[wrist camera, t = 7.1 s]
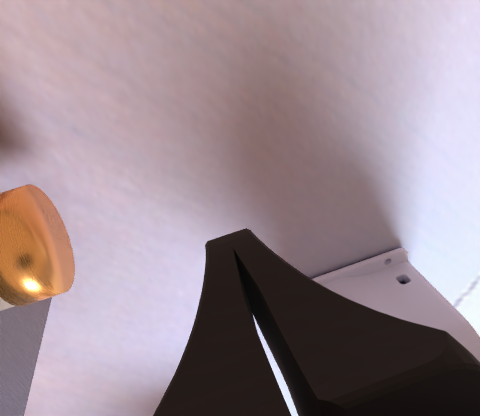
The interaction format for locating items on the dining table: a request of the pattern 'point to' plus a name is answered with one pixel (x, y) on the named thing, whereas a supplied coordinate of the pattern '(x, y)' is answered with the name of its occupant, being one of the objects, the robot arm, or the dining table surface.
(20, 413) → the housing
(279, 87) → the dining table surface
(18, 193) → the shaft
